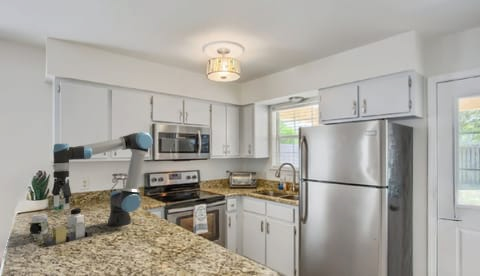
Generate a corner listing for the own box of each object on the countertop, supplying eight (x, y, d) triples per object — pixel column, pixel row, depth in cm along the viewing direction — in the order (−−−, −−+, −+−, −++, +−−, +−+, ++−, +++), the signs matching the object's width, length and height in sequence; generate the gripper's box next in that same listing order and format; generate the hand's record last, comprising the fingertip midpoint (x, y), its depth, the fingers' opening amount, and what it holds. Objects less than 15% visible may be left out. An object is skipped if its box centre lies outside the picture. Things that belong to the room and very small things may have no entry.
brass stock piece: (62, 239, 158) (62, 225, 158) (65, 241, 155) (66, 227, 155) (52, 242, 154) (52, 227, 154) (55, 243, 151) (56, 229, 151)
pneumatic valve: (29, 243, 153) (29, 221, 154) (38, 237, 164) (38, 217, 165) (40, 242, 155) (40, 221, 155) (48, 236, 166) (49, 216, 166)
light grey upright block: (81, 235, 166) (81, 221, 166) (84, 236, 163) (84, 223, 163) (72, 237, 162) (72, 223, 162) (75, 239, 159) (75, 224, 159)
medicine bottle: (83, 225, 191) (84, 207, 192) (76, 227, 184) (76, 209, 185) (74, 224, 192) (74, 207, 192) (66, 227, 185) (67, 209, 185)
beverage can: (39, 236, 166) (39, 216, 166) (27, 236, 167) (28, 216, 168) (50, 232, 174) (51, 213, 174) (40, 232, 175) (40, 213, 176)
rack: (85, 233, 170) (85, 229, 170) (92, 236, 164) (92, 231, 165) (43, 243, 152) (43, 238, 153) (50, 247, 147) (50, 241, 147)
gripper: (45, 170, 162) (45, 206, 161) (63, 171, 147) (63, 211, 146) (59, 169, 168) (59, 204, 167) (78, 170, 153) (78, 209, 152)
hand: (61, 208), depth 156 cm, fingers open, 13 cm apart
